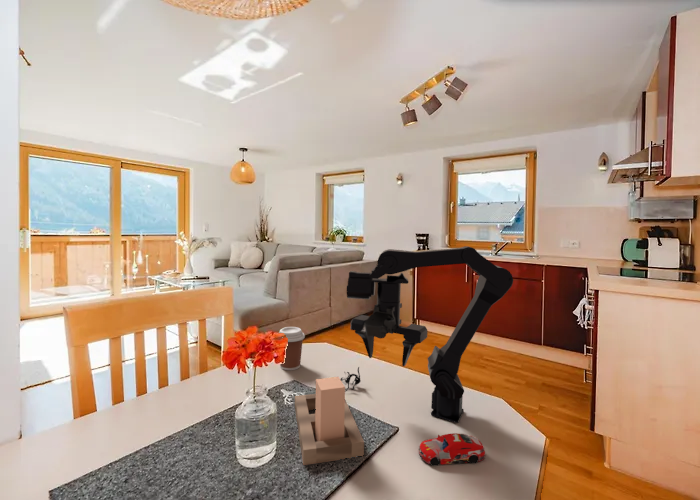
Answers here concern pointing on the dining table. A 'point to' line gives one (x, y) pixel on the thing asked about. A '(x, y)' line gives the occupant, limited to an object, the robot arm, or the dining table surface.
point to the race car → (452, 449)
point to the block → (329, 409)
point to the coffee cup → (293, 347)
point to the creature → (357, 380)
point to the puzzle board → (328, 448)
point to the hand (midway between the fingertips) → (386, 361)
